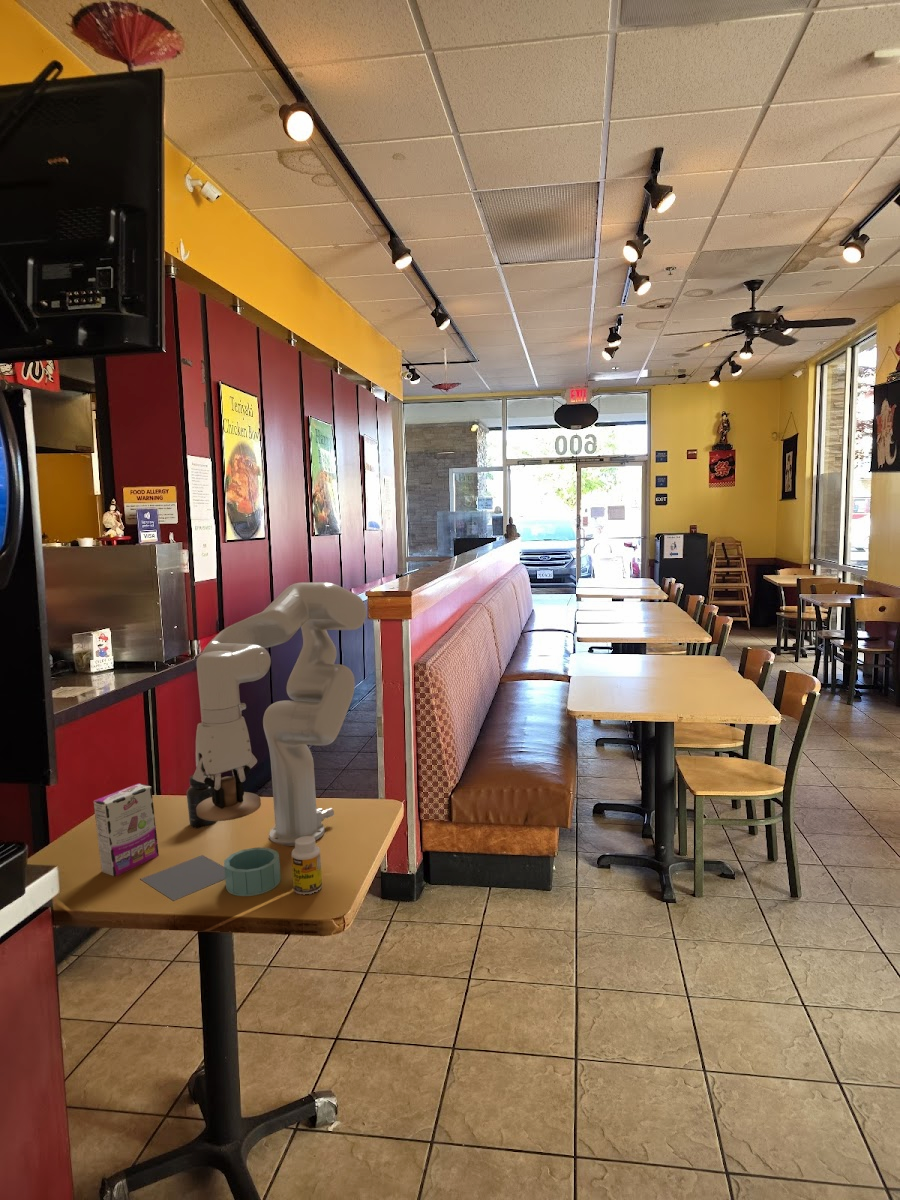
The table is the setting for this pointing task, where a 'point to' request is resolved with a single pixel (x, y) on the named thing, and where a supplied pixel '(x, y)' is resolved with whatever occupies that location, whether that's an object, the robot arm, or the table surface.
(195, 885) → the mat
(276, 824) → the robot arm
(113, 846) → the candy bar box
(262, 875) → the bowl
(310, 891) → the supplement bottle
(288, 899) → the table surface
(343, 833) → the table surface
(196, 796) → the supplement bottle
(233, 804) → the lid
